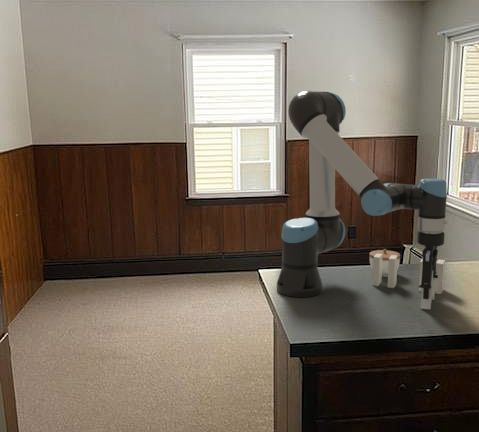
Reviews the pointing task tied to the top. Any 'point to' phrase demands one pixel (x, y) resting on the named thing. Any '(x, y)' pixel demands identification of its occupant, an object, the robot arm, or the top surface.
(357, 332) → the top surface
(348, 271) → the top surface
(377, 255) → the tile
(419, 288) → the tile
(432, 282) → the tile
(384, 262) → the lidded jar
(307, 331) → the top surface
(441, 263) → the tile
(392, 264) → the tile
